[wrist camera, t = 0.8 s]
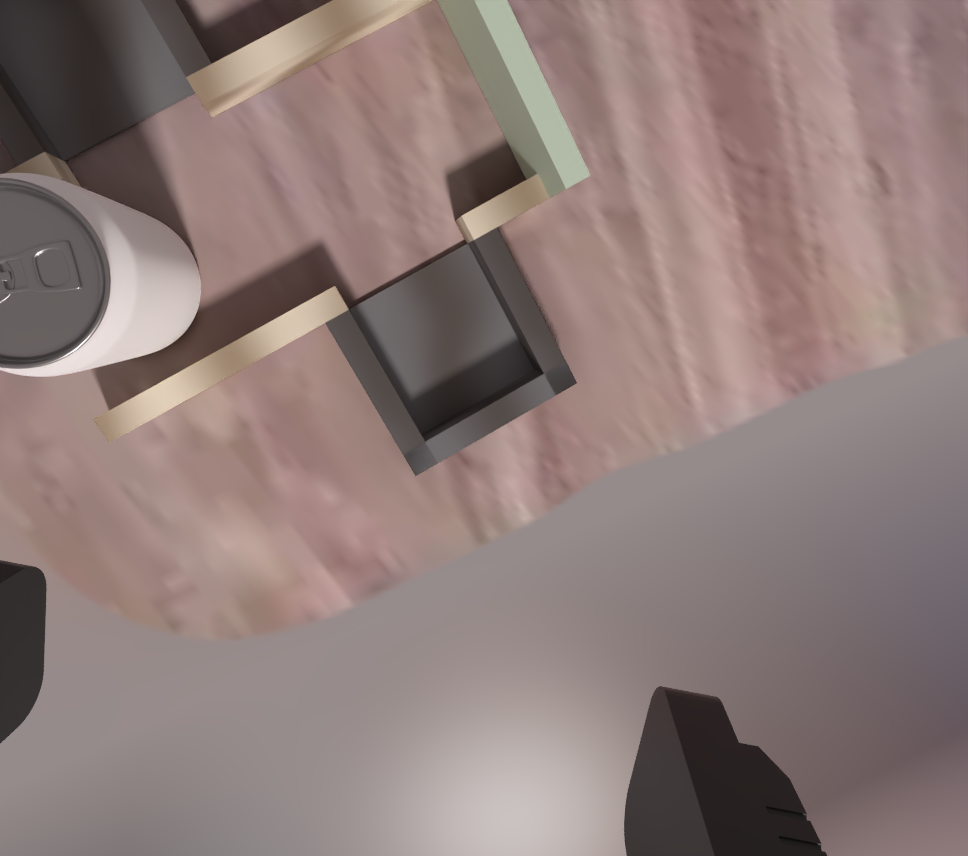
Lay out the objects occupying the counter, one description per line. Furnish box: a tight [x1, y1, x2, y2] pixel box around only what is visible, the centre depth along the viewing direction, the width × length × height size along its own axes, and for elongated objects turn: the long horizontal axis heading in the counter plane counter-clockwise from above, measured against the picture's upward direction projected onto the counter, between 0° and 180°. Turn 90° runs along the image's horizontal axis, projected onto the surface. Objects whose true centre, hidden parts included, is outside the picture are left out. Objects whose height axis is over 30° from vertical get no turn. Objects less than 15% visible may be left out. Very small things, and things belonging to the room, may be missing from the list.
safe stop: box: [437, 0, 590, 198], centre depth 33 cm, size 1×11×5 cm, turn 29°
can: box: [0, 173, 201, 377], centre depth 28 cm, size 6×6×12 cm
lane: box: [0, 0, 577, 476], centre depth 33 cm, size 24×28×2 cm
